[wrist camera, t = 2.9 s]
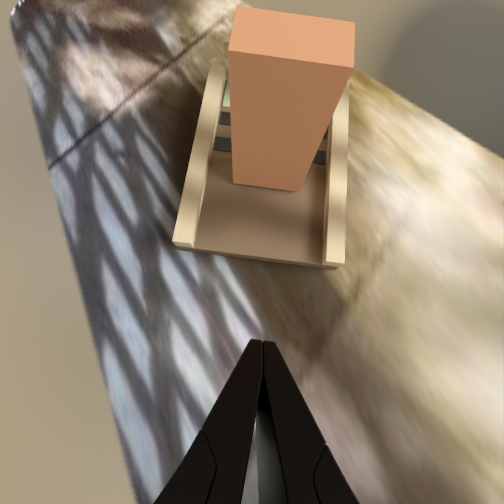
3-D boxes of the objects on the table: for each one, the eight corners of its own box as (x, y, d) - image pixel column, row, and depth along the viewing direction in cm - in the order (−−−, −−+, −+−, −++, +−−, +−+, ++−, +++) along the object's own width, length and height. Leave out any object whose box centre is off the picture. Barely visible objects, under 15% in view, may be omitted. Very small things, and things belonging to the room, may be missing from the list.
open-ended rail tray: (333, 270, 24) (357, 255, 19) (178, 249, 24) (163, 230, 19) (340, 97, 29) (360, 52, 25) (214, 80, 29) (209, 31, 24)
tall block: (298, 191, 24) (353, 67, 13) (233, 183, 24) (227, 50, 13) (301, 163, 25) (354, 22, 13) (237, 154, 25) (236, 5, 13)
